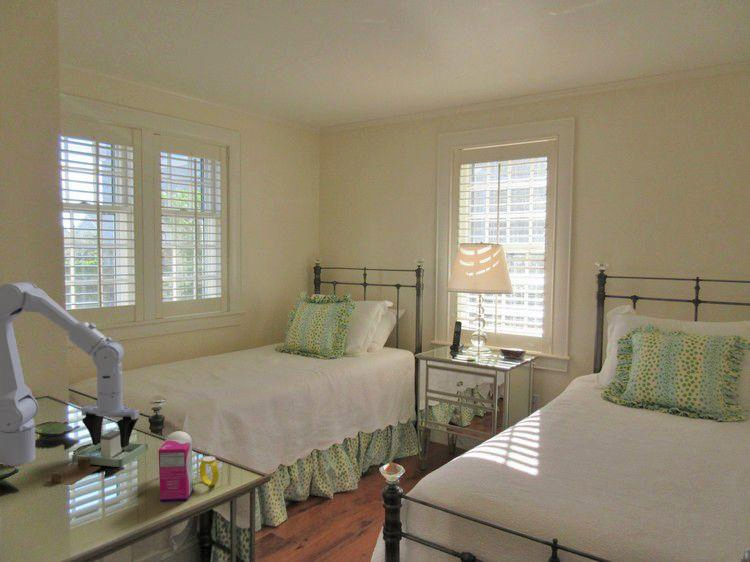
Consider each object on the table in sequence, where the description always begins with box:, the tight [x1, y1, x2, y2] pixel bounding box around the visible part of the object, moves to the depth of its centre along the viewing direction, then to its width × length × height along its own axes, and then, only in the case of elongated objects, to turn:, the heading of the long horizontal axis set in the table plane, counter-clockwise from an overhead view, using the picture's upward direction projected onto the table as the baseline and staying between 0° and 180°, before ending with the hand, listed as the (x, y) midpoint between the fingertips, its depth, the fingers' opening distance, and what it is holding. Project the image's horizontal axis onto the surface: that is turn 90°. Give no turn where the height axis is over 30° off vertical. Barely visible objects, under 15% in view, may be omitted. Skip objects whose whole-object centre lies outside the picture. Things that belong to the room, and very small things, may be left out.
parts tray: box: [71, 441, 149, 468], centre depth 139 cm, size 13×11×2 cm
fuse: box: [100, 430, 123, 458], centre depth 139 cm, size 3×4×6 cm, turn 171°
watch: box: [199, 455, 219, 487], centre depth 126 cm, size 6×3×6 cm, turn 47°
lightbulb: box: [164, 430, 192, 442], centre depth 128 cm, size 6×6×11 cm
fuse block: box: [39, 457, 102, 486], centre depth 128 cm, size 8×10×3 cm
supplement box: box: [157, 438, 194, 503], centre depth 120 cm, size 6×6×12 cm
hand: (110, 445), depth 139 cm, fingers open, 7 cm apart
